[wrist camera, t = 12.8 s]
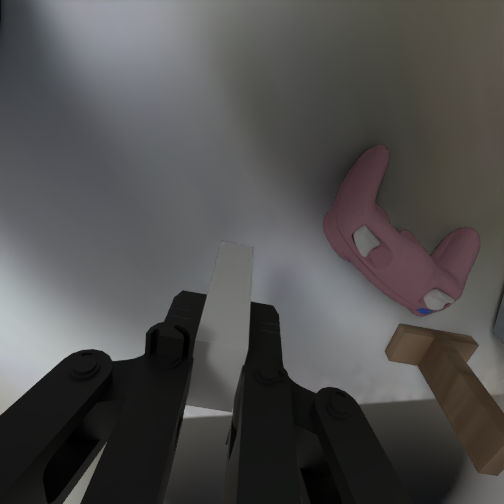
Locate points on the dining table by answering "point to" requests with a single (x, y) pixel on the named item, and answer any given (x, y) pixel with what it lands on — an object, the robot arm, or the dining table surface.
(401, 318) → the dining table surface
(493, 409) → the brown bent pieces
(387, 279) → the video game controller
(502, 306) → the door
